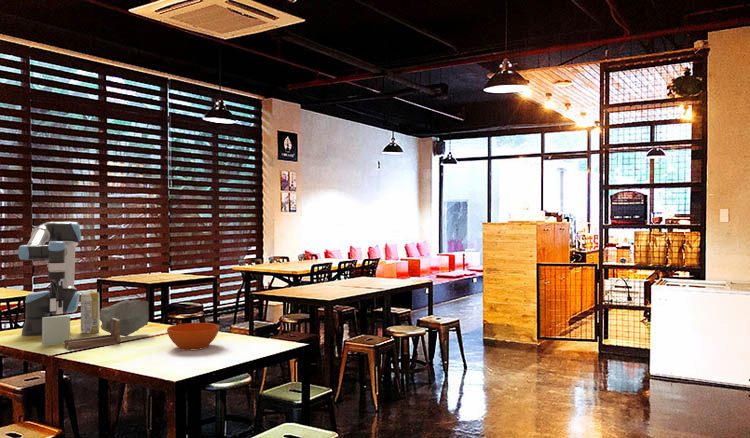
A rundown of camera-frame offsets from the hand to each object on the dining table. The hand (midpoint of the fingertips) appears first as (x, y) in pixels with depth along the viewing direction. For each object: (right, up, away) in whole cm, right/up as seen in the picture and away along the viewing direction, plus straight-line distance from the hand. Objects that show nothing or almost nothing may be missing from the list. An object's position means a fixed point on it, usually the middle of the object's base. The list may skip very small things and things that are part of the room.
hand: (56, 312), depth 300 cm
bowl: (+73, -16, -7) cm, 75 cm away
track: (+20, -16, -3) cm, 26 cm away
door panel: (0, -16, 0) cm, 16 cm away
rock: (+27, -16, +19) cm, 37 cm away
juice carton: (+2, -17, +30) cm, 35 cm away
